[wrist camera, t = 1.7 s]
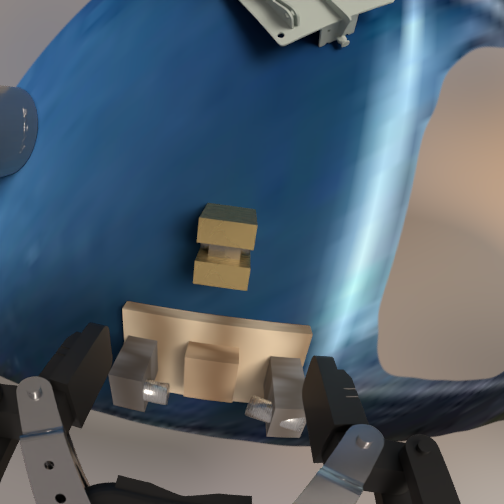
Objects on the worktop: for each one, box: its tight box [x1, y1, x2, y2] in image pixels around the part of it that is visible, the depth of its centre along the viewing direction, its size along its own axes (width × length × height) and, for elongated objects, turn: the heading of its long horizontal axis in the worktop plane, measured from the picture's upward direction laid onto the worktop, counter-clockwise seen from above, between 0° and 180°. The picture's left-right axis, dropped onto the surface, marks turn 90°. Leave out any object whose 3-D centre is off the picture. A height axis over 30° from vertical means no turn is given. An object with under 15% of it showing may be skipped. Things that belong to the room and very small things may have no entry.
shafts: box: [143, 379, 306, 432], centre depth 25 cm, size 17×2×4 cm, turn 81°
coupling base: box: [108, 301, 313, 438], centre depth 28 cm, size 18×10×8 cm, turn 81°
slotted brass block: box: [193, 203, 257, 291], centre depth 25 cm, size 5×4×5 cm
